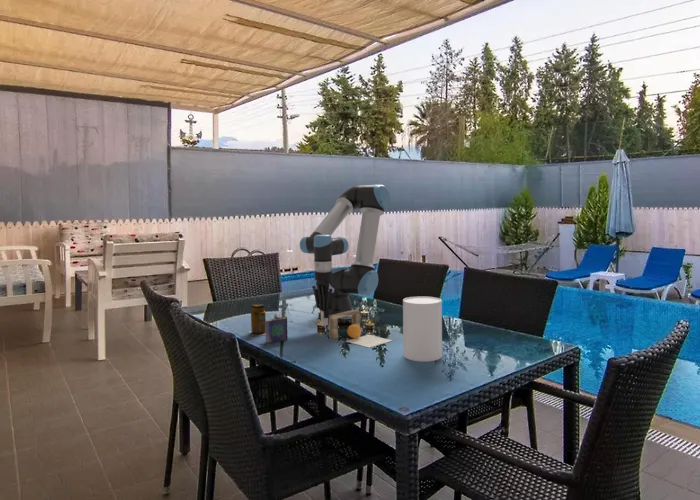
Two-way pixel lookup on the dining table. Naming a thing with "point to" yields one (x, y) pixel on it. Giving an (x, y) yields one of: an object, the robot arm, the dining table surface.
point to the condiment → (258, 320)
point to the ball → (354, 331)
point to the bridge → (333, 318)
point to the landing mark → (368, 341)
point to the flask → (276, 329)
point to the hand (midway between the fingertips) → (324, 325)
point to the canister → (422, 328)
